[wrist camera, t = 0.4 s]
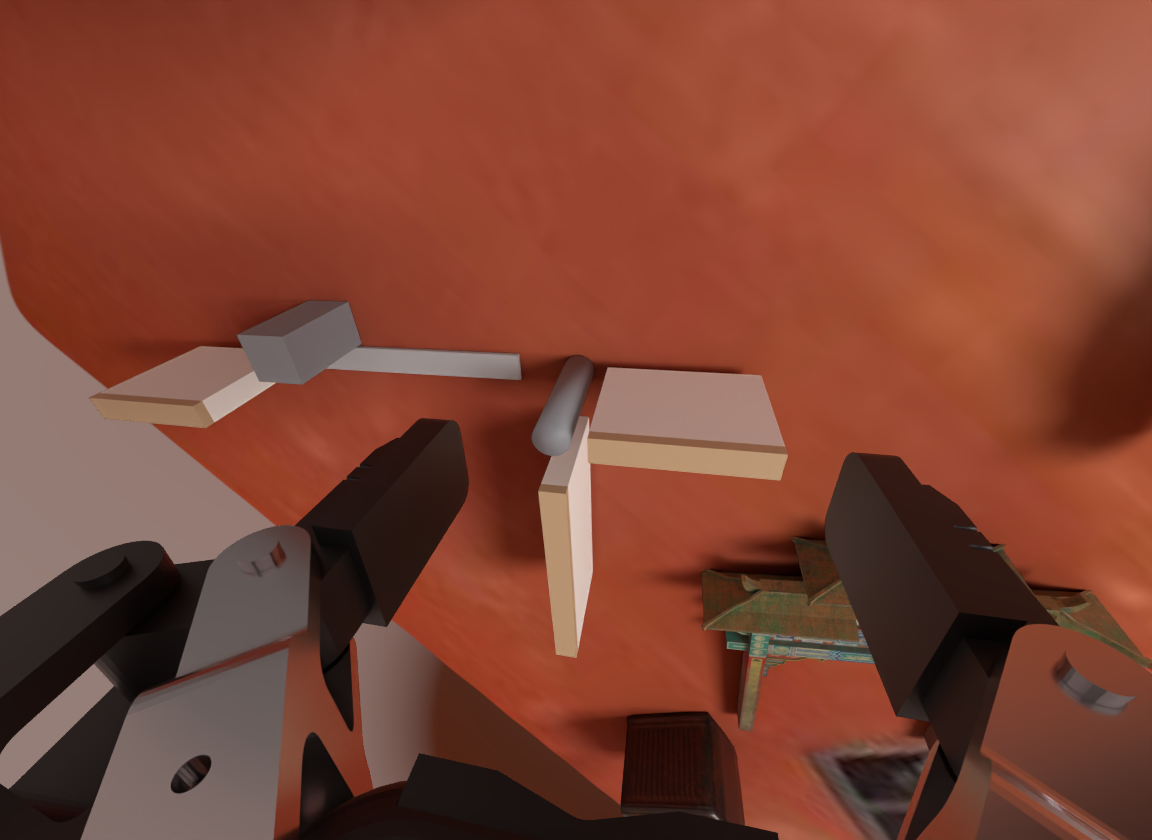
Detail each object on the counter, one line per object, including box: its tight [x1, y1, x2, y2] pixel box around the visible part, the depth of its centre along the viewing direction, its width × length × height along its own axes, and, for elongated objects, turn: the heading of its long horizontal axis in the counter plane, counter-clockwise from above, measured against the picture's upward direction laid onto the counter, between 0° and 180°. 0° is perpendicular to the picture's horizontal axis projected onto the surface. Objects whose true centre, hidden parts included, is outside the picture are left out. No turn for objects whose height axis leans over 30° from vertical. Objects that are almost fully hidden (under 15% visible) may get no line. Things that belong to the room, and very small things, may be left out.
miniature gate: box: [702, 537, 1152, 751], centre depth 37 cm, size 27×6×30 cm
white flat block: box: [538, 416, 593, 658], centre depth 31 cm, size 16×2×8 cm, turn 2°
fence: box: [89, 300, 788, 480], centre depth 26 cm, size 5×39×9 cm, turn 92°
